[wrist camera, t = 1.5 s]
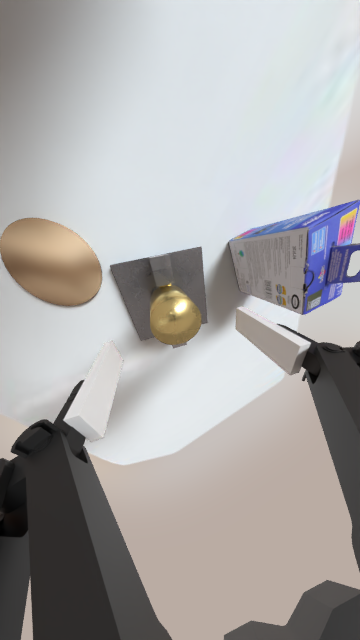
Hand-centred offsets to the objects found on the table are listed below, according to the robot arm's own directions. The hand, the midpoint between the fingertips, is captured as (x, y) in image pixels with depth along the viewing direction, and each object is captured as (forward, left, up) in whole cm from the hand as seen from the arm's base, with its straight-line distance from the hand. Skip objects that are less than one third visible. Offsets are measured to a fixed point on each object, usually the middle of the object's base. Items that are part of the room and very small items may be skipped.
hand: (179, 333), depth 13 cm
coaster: (-8, -14, -12) cm, 20 cm away
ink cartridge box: (-3, +16, -12) cm, 20 cm away
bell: (0, 0, -9) cm, 9 cm away
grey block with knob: (0, 0, -12) cm, 12 cm away
